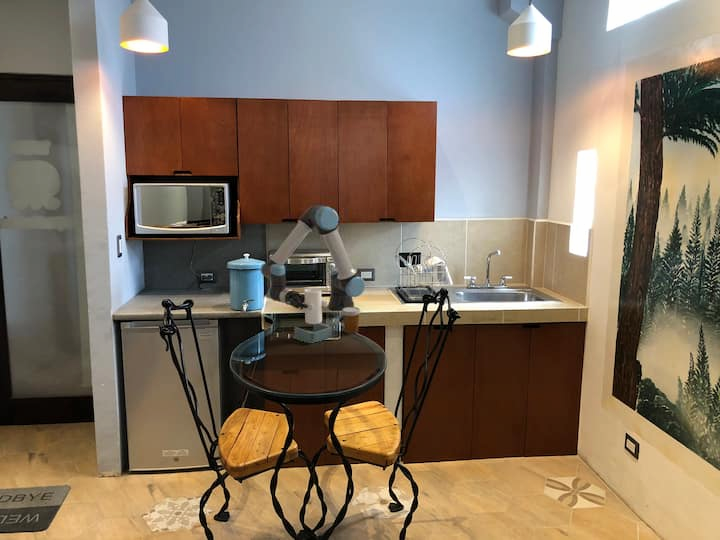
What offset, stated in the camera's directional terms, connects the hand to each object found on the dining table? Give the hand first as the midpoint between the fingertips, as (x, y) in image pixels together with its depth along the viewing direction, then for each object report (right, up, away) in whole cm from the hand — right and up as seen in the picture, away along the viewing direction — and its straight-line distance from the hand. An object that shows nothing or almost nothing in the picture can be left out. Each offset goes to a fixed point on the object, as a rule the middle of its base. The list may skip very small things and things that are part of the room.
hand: (319, 305), depth 274 cm
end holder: (-3, -16, +7) cm, 18 cm away
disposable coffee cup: (+15, -15, +14) cm, 25 cm away
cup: (-3, -8, +5) cm, 10 cm away
